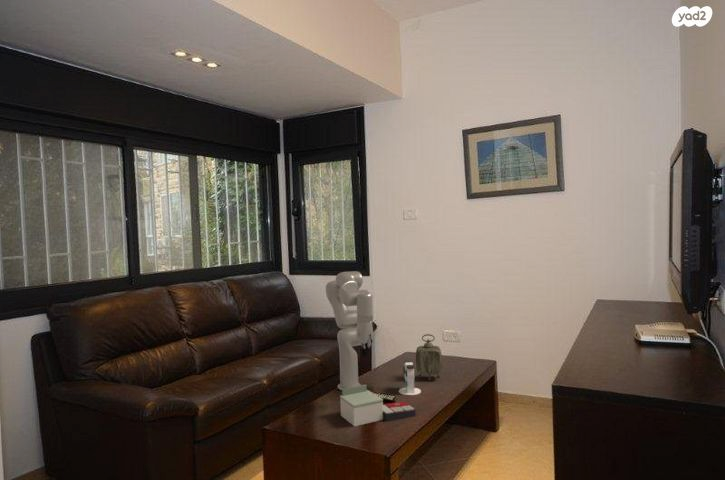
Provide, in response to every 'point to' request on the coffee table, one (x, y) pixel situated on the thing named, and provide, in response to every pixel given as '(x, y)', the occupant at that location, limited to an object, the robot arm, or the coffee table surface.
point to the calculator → (397, 411)
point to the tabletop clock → (428, 359)
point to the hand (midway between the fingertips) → (365, 356)
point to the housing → (362, 413)
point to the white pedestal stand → (409, 379)
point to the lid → (359, 396)
